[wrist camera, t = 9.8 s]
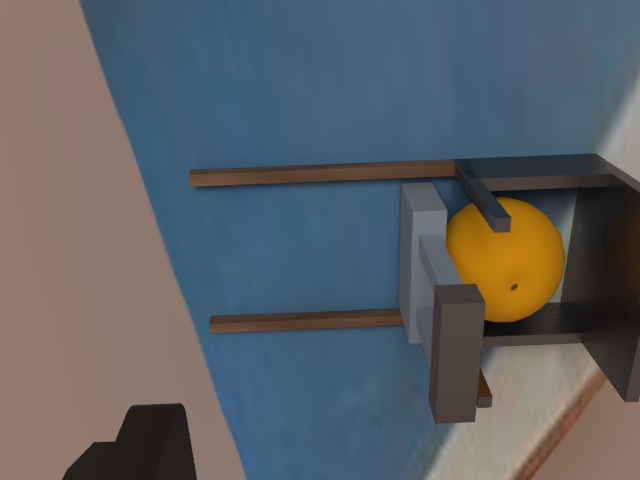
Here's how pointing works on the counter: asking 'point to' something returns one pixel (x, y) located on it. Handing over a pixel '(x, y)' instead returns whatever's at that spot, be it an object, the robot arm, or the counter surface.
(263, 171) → the rails
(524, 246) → the orange
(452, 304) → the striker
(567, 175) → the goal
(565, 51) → the counter surface
